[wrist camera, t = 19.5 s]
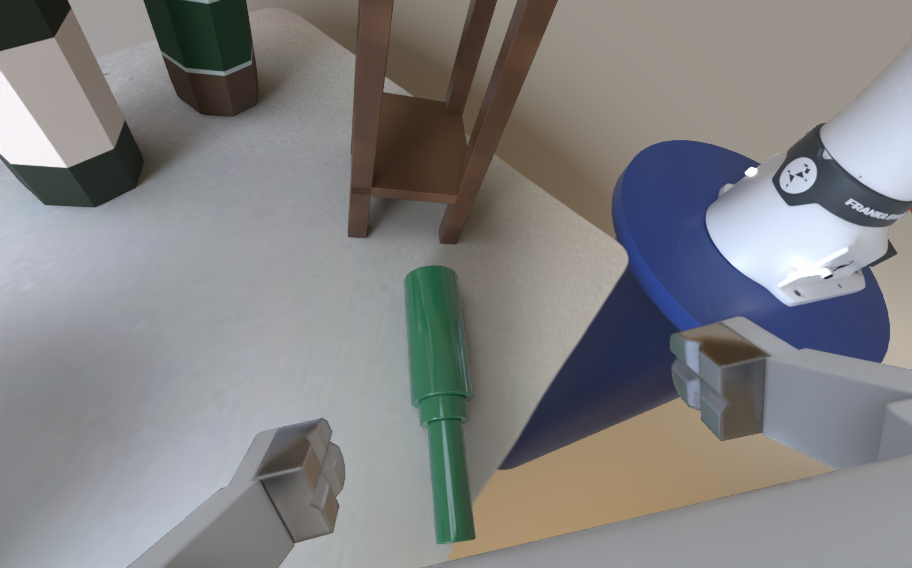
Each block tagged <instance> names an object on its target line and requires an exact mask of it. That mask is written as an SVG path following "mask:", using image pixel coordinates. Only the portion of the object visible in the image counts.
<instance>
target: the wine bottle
mask: <svg viewBox="0 0 912 568" xmlns="http://www.w3.org/2000/svg"><path fill="white" fill-rule="evenodd" d="M0 159H1V160H2V161H3V162H4V163H5V165H6V166H7V167H8V168H9V169H10V171H11V172H12V173H13V174H14V175H15V176H16V178H17V179H18V180H19V181H20V182H21V183H22V184H23V185H24V186H25V187H26V188H27V189H29V190H30V191H31V192H32V193H33V194H34V195H35V196H36V197H37V198H38V199H39V200H40V201H41V202H43V203H44V204H45V205H62V206H82V207H96V206H98V205H100V204H102V203H105V202H107V201H109V200H111V199H113V198H115V197H117V196H119V195H121V194H123V193H125V192H128V191H130V190H132V189H134V188H136V184H137V181H138V178H139V175H140V172H141V169H142V166H143V163H144V159H143V156H142V154H141V152H140V150H139V148H138V146H137V144H136V142H135V140H134V138H133V136H132V134H131V131H130V129H129V127H128V125H127V123H126V121H125V119H124V117H123V115H122V113H121V111H120V109H119V106H118V104H117V102H116V100H115V98H114V96H113V94H112V92H111V90H110V88H109V86H108V84H107V81H106V79H105V77H104V75H103V73H102V71H101V69H100V67H99V65H98V63H97V61H96V59H95V57H94V54H93V52H92V50H91V49H90V46H89V44H88V42H87V40H86V38H85V36H84V33H83V32H82V29H81V27H80V25H79V23H78V21H77V19H76V17H75V15H74V13H73V11H72V9H71V6H70V4H69V2H68V0H0Z"/></svg>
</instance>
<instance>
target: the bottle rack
mask: <svg viewBox="0 0 912 568" xmlns="http://www.w3.org/2000/svg"><path fill="white" fill-rule="evenodd" d="M557 1H558V0H518V1H517V3H516V6H515V10H514V12H513V15H512V18H511V21H510V24H509V27H508V30H507V32H506V35H505V38H504V41H503V44H502V47H501V50H500V53H499V56H498V59H497V62H496V65H495V67H494V71H493V74H492V76H491V79H490V82H489V85H488V88H487V91H486V94H485V97H484V100H483V102H482V105H481V108H480V111H479V114H478V117H477V120H476V123H475V126H474V129H473V132H472V135H471V137H470V140H469V143H468V146H467V143H466V137H465V131H464V125H463V118H462V113H463V110H464V107H465V104H466V100H467V97H468V94H469V91H470V87H471V84H472V81H473V78H474V74H475V71H476V68H477V65H478V61H479V58H480V55H481V52H482V48H483V45H484V41H485V38H486V35H487V32H488V29H489V25H490V22H491V18H492V15H493V12H494V9H495V6H496V2H497V0H471V1H470V6H469V9H468V13H467V17H466V21H465V25H464V28H463V32H462V36H461V40H460V44H459V48H458V52H457V56H456V60H455V63H454V67H453V71H452V75H451V79H450V83H449V87H448V91H447V94H446V98H445V102H441V101H435V100H428V99H421V98H416V97H409V96H403V95H397V94H391V93H384V92H383V88H384V80H385V71H386V63H387V54H388V45H389V36H390V28H391V20H392V11H393V2H394V0H359V7H358V26H357V45H356V63H355V82H354V101H353V120H352V139H351V154H352V158H351V184H350V202H349V219H348V237H358V238H366V235H367V226H368V217H369V209H370V200H371V196H374V197H385V198H395V199H406V200H417V201H427V202H438V203H448V205H447V207H446V210H445V213H444V216H443V219H442V222H441V225H440V228H439V238H440V243H444V244H457V241H458V239H459V236H460V234H461V232H462V229H463V227H464V224H465V222H466V220H467V217H468V215H469V212H470V210H471V208H472V205H473V203H474V200H475V198H476V196H477V193H478V191H479V188H480V186H481V184H482V181H483V179H484V176H485V174H486V172H487V169H488V167H489V164H490V162H491V160H492V157H493V155H494V152H495V150H496V147H497V145H498V143H499V140H500V138H501V136H502V133H503V131H504V128H505V126H506V124H507V121H508V119H509V116H510V114H511V111H512V109H513V107H514V104H515V101H516V100H517V97H518V95H519V92H520V90H521V88H522V85H523V83H524V80H525V78H526V76H527V73H528V71H529V68H530V66H531V64H532V61H533V59H534V56H535V54H536V51H537V49H538V47H539V44H540V42H541V39H542V37H543V35H544V32H545V30H546V28H547V25H548V22H549V20H550V18H551V16H552V13H553V11H554V8H555V6H556V4H557Z"/></svg>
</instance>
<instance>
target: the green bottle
mask: <svg viewBox="0 0 912 568" xmlns="http://www.w3.org/2000/svg"><path fill="white" fill-rule="evenodd" d="M404 289H405V306H406V323H407V340H408V357H409V374H410V391H411V404H412V406H414V407H416V408H419V419H420V426H421V427H423V428H428V441H429V454H430V467H431V481H432V494H433V507H434V520H435V533H436V544H446V543H454V542H461V541H468V540H474V539H475V538H476V537H475V528H474V519H473V511H472V502H471V493H470V485H469V476H468V468H467V459H466V450H465V442H464V433H463V425H462V424H465V423H467V422H468V421H469V414H468V406H467V403H468V402H470V401H471V400H472V399H473V389H472V381H471V374H470V366H469V359H468V351H467V344H466V336H465V329H464V321H463V314H462V306H461V299H460V291H459V284H458V277H457V274H456V273H455V272H454V271H453V270H452V269H450V268H447V267H443V266H425V267H421V268H418V269H415V270H413V271H411V272H410V273H409V274H408V275H407V276H406V277H405V279H404Z"/></svg>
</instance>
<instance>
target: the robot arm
mask: <svg viewBox="0 0 912 568" xmlns="http://www.w3.org/2000/svg"><path fill="white" fill-rule="evenodd" d="M745 173H746V174H747V176H745V177H744V178H743V179H741V180H740V181H739V182H737V183H736V184H735V185H733V184H726V185H724V186H723V187H722V188H720V190H719V194H718V199H717V200H716V201H715V202H713V203H712V204H711V205H710V206H709V207H708V209H707V211H706V225H707V229H708V232H709V234H710V237H711V239H712V240H713V242H714V244H715V245H716V247H717V248H718V250H719V251H720V252H721V253H722V255H723V256H724V257H725V258H726V259H727V260H728V261H729V262H730V263H731V264H732V265H733V266H734V267H735V268H736V269H738V270H739V271H740V272H741V273H743V274H744V275H746V276H747V277H749V278H750V279H752V280H753V281H755V282H757V283H759V284H760V285H762V286H764V287H765V288H766V289H768V290H769V291H770V292H771V293H772V294H773V295H774V296H775V297H776V298H777V299H779V300H780V301H781V302H782V303H784V304H785V305H787V306H790V307H793V306H798V305H802V304H807V303H811V302H816V301H820V300H825V299H829V298H834V297H838V296H843V295H848V294H852V293H856V292H859V291H860V290H862V289H864V288H865V280H864V276H863V273H862V271H861V268H863V267H864V266H866V265H867V266H871V267H873V266H875V265H877V264H879V263H881V262H882V261H884V260H887V259H889V258H890V257H892V256H894V255H896V254H897V252H896V251H895V249H894V247H893V246H892V244H891V242H890V241H889V239H888V230H889V226H890V225H891V224H893V223H894V222H895V221H896V220H897V219H899V218H901V217H903V216H904V215H905V214H907V213H908V210H910V211H911V213H912V36H911V38H910V39H909V41H908V42H907V43H906V45H905V46H904V47H903V49H902V50H901V51H900V53H899V54H898V55H897V56H896V57H895V58H894V59H893V61H892V62H891V63H890V64H889V65H888V66H887V67H886V68H885V69H884V70H883V71H882V72H881V73H880V74H879V75H878V76H877V77H876V78H875V79H874V80H873V81H872V82H871V83H870V84H869V85H868V86H867V87H866V88H865V89H864V90H863V91H862V92H861V93H859V94H858V95H857V96H856V97H855V98H854V99H853V100H852V101H851V102H850V103H848V104H847V105H846V106H845V107H844V108H843V109H842V110H841V111H840V112H838V113H837V114H836V115H835V116H834V117H833V118H832V119H830V120H829V121H828V122H827V123H822V124H819V125H817V126H816V127H815V128H813V129H812V130H811V131H810V132H807V133H806V134H805V135H803V136H802V137H801V138H800V139H799V141H798V142H797V143H795V144H794V145H793V146H792V147H791V148H790V149H789V150H788V152H787V153H777V154H775V155H773V156H772V157H771V158H769V159H768V160H766V161H765V162H764V163H762V164H761V165H760V166H758V167H757V168H756V169H755V168H752V167H751V168H749V169H748V170H747V171H746V172H745ZM670 350H671V351H672V352H673V353H674V354H675V355H676V356H677V359H676V360H675V362H674V363H673V365H672V367H671V368H672V378H673V382H674V385H675V387H676V390H677V392H678V394H679V395H680V397H681V399H682V400H683V401H684V402H685V403H686V404H687V405H688V406H689V407H691V408H694V409H696V410H699V411H701V421H702V422H703V423H704V424H705V425H706V426H707V427H708V428H709V429H710V430H711V431H712V432H713V433H714V434H715V435H716V436H717V438H718V439H719V440H720V441H724V440H729V439H734V438H739V437H743V436H748V435H753V434H758V433H763V435H765V436H767V437H769V438H771V439H773V440H775V441H777V442H780V443H782V444H784V445H786V446H788V447H790V448H792V449H794V450H797V451H799V452H801V453H803V454H805V455H807V456H809V457H811V458H814V459H816V460H818V461H820V462H822V463H824V464H826V465H828V466H831V467H833V468H835V469H837V471H833V472H828V473H824V474H820V475H816V476H811V477H807V478H803V479H799V480H795V481H790V482H786V483H782V484H778V485H774V486H769V487H765V488H761V489H756V490H752V491H748V492H743V493H739V494H735V495H731V496H726V497H722V498H718V499H713V500H709V501H704V502H700V503H696V504H692V505H687V506H683V507H679V508H674V509H670V510H666V511H661V512H657V513H653V514H649V515H644V516H640V517H635V518H632V519H627V520H623V521H618V522H614V523H610V524H605V525H601V526H597V527H592V528H589V529H584V530H580V531H575V532H571V533H567V534H563V535H558V536H554V537H550V538H546V539H541V540H538V541H533V542H529V543H525V544H520V545H516V546H512V547H508V548H503V549H499V550H495V551H491V552H486V553H482V554H478V555H474V556H469V557H465V558H461V559H456V560H452V561H448V562H443V563H439V564H435V565H431V566H426V567H422V568H912V370H911V369H906V368H901V367H896V366H891V365H886V364H881V363H877V362H872V361H867V360H862V359H857V358H852V357H847V356H842V355H837V354H832V353H827V352H822V351H817V350H813V349H808V348H804V349H800V350H798V349H796V348H795V347H793V346H791V345H790V344H788V343H786V342H785V341H783V340H781V339H780V338H778V337H776V336H775V335H773V334H771V333H770V332H768V331H766V330H765V329H763V328H761V327H760V326H758V325H756V324H755V323H753V322H751V321H750V320H748V319H746V318H745V317H739V316H737V317H733V318H729V319H726V320H722V321H719V322H716V323H713V324H709V325H705V326H701V327H697V328H693V329H690V330H686V331H682V332H678V333H674V334H672V336H671V339H670ZM331 435H332V430H331V428H330V426H329V424H328V422H327V420H325V419H323V418H320V419H316V420H311V421H307V422H302V423H298V424H293V425H289V426H284V427H281V428H275V429H271V430H267V431H263V432H260V433H259V434H257V435H256V436H255V438H254V440H253V442H252V443H251V445H250V447H249V449H248V451H247V452H246V454H245V456H244V458H243V460H242V462H241V463H240V465H239V467H238V469H237V471H236V473H235V474H234V476H233V478H232V480H231V482H230V483H229V485H228V487H225V488H221V489H220V490H218V491H217V492H216V493H215V494H214V495H212V496H211V497H210V498H209V499H208V500H206V501H205V502H204V503H203V504H202V505H200V506H199V507H198V508H197V509H196V510H195V511H193V512H192V513H191V514H190V515H189V516H187V517H186V518H185V519H184V520H183V521H181V522H180V523H179V524H178V525H177V526H175V527H174V528H173V529H172V530H171V531H170V532H168V533H167V534H166V535H165V536H164V537H162V538H161V539H160V540H159V541H158V542H156V543H155V544H154V545H153V546H152V547H150V548H149V549H148V550H147V551H146V552H145V553H143V554H142V555H141V556H140V557H139V558H137V559H136V560H135V561H134V562H133V563H131V564H130V565H129V566H128V567H127V568H278V567H279V566H280V565H281V563H282V562H283V560H284V559H285V558H286V556H287V555H288V554H289V552H290V551H291V549H292V548H293V547H294V543H297V542H301V541H304V540H308V539H312V538H315V537H319V536H323V535H327V534H330V533H333V530H334V526H335V522H336V517H337V513H338V509H339V504H338V502H337V500H336V496H337V495H338V494H339V493H340V492H341V491H342V489H343V486H344V481H345V464H344V460H343V456H342V453H341V451H340V448H339V447H338V446H337V445H335V444H334V443H332V442H330V439H331Z"/></svg>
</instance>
